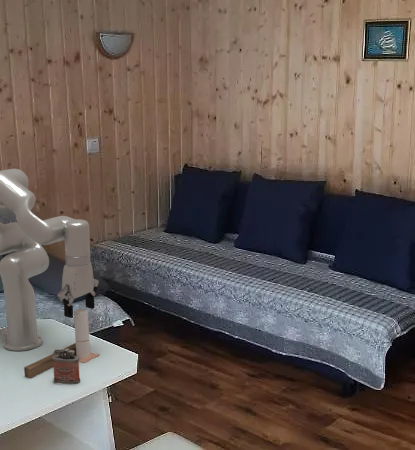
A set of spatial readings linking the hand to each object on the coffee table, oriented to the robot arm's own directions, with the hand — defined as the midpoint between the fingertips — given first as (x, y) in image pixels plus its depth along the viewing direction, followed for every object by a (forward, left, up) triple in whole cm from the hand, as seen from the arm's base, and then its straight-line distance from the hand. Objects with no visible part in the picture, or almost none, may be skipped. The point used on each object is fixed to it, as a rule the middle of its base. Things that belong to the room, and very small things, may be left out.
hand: (79, 312), depth 212 cm
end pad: (+1, 0, -15) cm, 15 cm away
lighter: (+9, -16, -15) cm, 24 cm away
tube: (0, 0, -15) cm, 15 cm away
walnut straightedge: (-3, -8, -15) cm, 17 cm away
